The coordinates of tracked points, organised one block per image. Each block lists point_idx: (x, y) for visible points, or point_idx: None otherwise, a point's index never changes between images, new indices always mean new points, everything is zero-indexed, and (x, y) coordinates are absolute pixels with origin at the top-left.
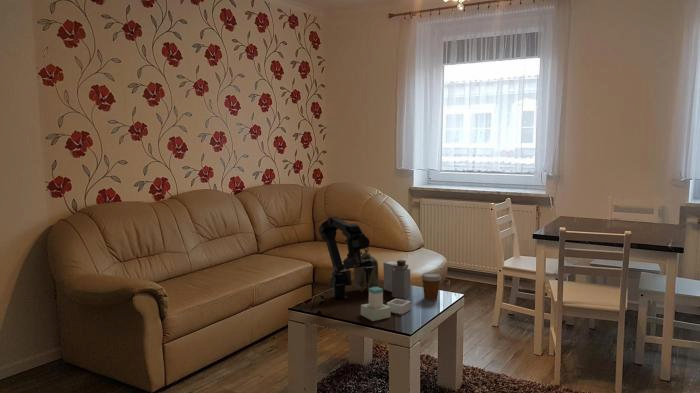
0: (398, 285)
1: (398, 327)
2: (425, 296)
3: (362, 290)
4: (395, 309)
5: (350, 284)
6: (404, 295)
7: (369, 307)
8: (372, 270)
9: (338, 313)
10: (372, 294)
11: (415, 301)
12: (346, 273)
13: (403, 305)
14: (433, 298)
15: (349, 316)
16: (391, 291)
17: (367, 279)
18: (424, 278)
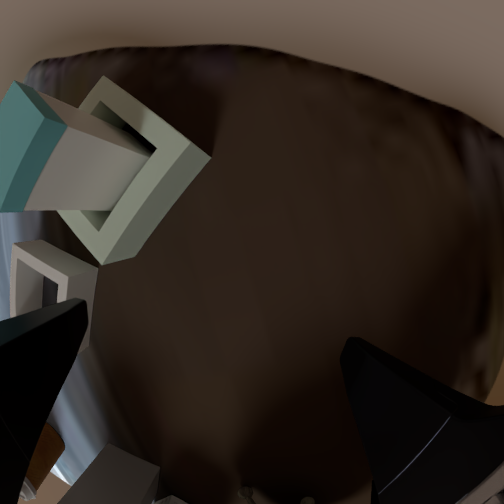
0: (107, 487)
1: (46, 91)
2: (49, 433)
3: (303, 501)
4: (51, 253)
5: (348, 353)
6: (102, 451)
7: (125, 119)
8: None
9: (354, 142)
10: (50, 102)
11: (64, 411)
12: (468, 434)
13: (12, 254)
14: None
15: (270, 110)
16: (181, 501)
17: (39, 309)
18: None
